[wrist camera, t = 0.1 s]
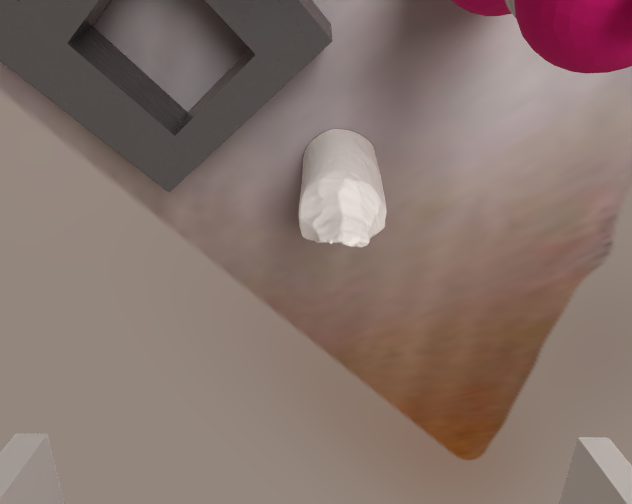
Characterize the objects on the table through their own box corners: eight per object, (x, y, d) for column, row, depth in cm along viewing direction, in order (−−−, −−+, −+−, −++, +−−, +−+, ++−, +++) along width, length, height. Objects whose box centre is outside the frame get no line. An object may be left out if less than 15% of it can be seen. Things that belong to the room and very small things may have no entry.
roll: (307, 293, 30) (285, 225, 26) (310, 194, 39) (294, 133, 36) (399, 279, 29) (389, 207, 26) (380, 181, 38) (370, 118, 35)
